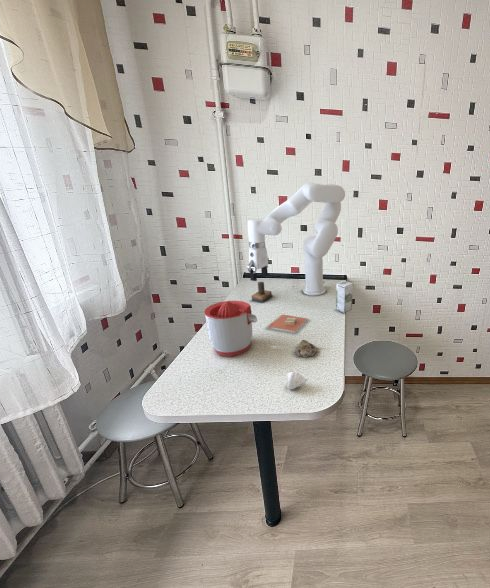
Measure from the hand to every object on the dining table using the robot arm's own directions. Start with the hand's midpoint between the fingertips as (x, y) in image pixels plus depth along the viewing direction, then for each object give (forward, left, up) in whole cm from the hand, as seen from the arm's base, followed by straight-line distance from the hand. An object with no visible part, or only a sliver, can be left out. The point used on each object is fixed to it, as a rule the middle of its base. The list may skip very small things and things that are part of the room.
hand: (259, 277), depth 168 cm
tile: (+22, +27, -12) cm, 37 cm away
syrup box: (-1, +45, -12) cm, 47 cm away
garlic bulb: (+61, +51, -12) cm, 80 cm away
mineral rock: (+40, +44, -12) cm, 61 cm away
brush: (0, 0, -12) cm, 12 cm away
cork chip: (+22, +28, -11) cm, 37 cm away
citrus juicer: (+47, +18, -12) cm, 52 cm away
